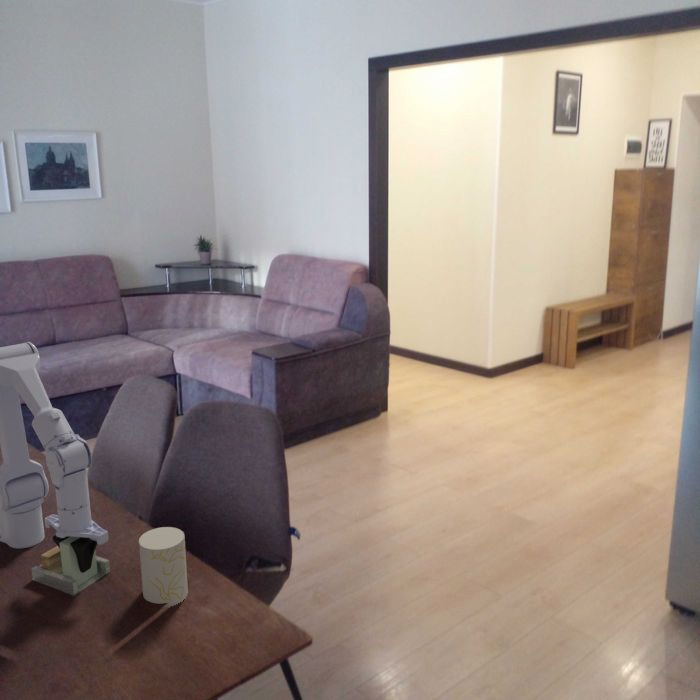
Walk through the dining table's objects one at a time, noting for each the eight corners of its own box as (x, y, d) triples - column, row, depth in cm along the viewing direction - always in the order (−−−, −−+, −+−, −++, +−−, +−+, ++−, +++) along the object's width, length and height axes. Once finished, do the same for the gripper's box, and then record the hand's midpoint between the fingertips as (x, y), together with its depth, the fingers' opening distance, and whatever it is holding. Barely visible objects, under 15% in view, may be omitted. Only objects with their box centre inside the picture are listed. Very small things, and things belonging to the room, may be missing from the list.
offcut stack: (40, 576, 136) (38, 556, 135) (65, 561, 142) (63, 542, 140) (49, 579, 135) (47, 559, 134) (73, 564, 140) (71, 544, 139)
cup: (154, 613, 127) (150, 554, 124) (136, 593, 133) (131, 536, 130) (195, 597, 132) (192, 539, 129) (176, 578, 138) (172, 522, 135)
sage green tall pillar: (64, 585, 134) (59, 542, 131) (88, 569, 139) (84, 528, 137) (73, 588, 133) (69, 545, 130) (97, 572, 138) (93, 531, 135)
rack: (33, 584, 135) (31, 568, 135) (70, 562, 143) (68, 546, 142) (74, 600, 131) (72, 583, 130) (110, 575, 138) (109, 560, 138)
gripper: (28, 503, 131) (36, 568, 135) (85, 521, 125) (91, 588, 128) (58, 489, 137) (65, 551, 141) (114, 504, 131) (119, 569, 135)
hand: (80, 567), depth 135 cm, fingers closed on sage green tall pillar, 2 cm apart
